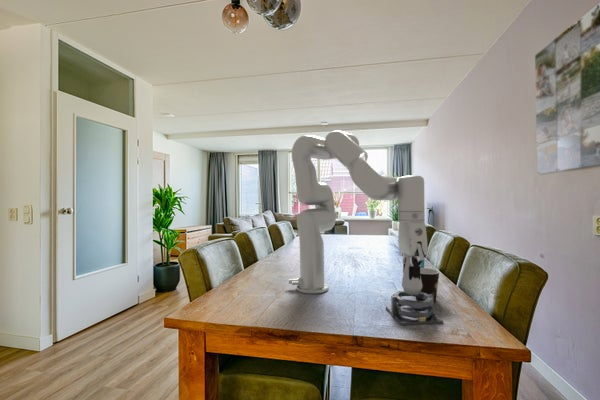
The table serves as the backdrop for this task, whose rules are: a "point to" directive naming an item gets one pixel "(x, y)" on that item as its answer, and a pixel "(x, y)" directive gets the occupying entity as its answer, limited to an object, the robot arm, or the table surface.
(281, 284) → the table surface
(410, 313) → the collar stand
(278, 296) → the table surface
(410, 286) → the salt shaker
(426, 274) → the coffee mug
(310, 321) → the table surface
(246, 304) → the table surface
